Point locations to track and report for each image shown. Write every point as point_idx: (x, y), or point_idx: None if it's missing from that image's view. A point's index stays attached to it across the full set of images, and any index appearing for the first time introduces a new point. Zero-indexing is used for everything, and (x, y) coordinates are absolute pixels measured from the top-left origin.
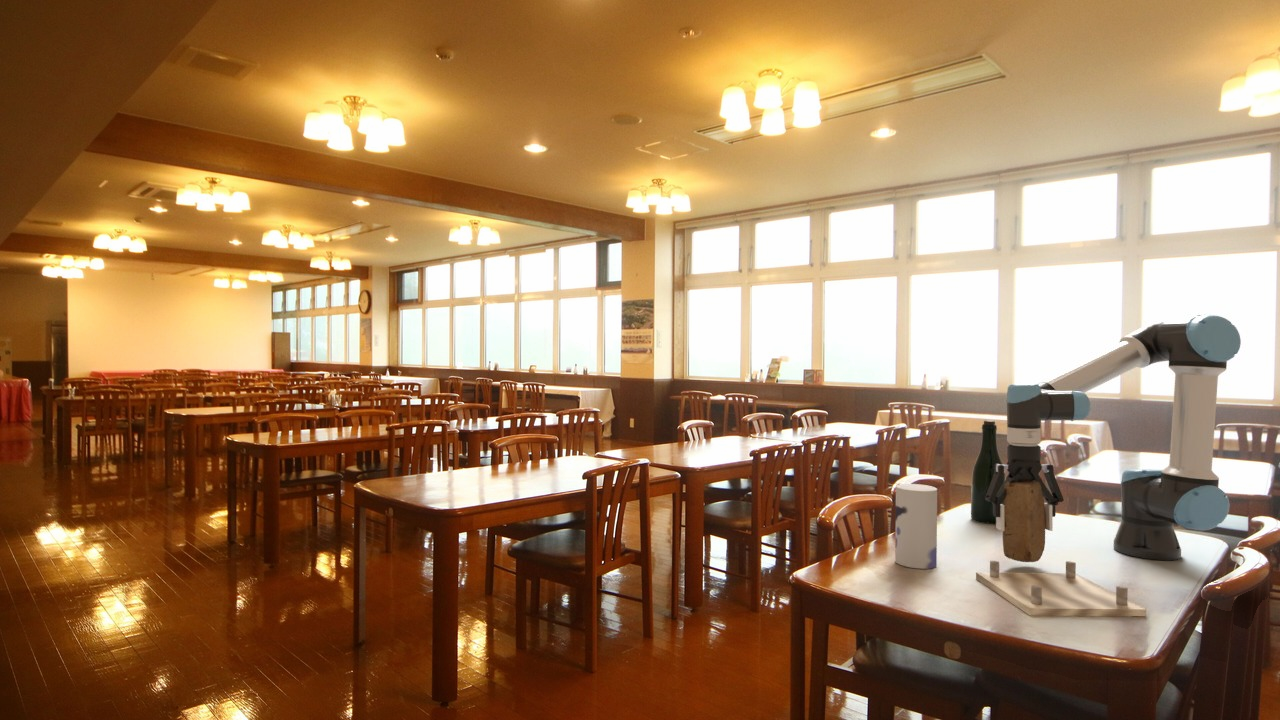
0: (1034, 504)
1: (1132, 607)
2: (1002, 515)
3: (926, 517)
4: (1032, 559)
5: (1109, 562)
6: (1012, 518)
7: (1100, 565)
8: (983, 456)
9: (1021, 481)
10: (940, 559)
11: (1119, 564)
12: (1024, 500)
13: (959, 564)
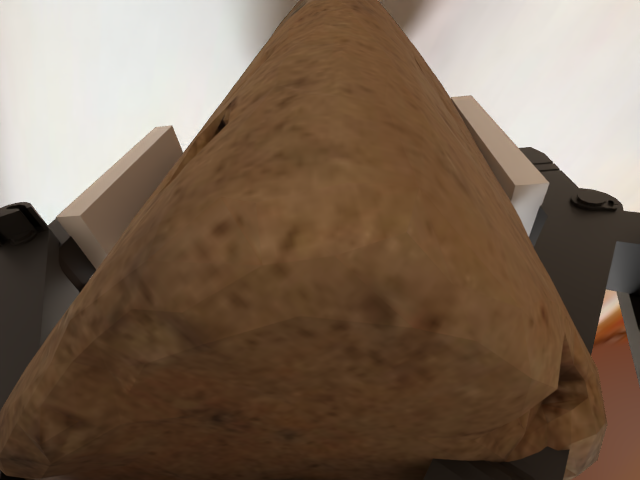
0: (226, 97)
1: None
2: (499, 139)
3: None
4: None
5: (35, 181)
6: (439, 88)
7: (58, 147)
8: None
9: None
10: (591, 156)
11: (6, 164)
12: (389, 47)
13: (564, 97)
